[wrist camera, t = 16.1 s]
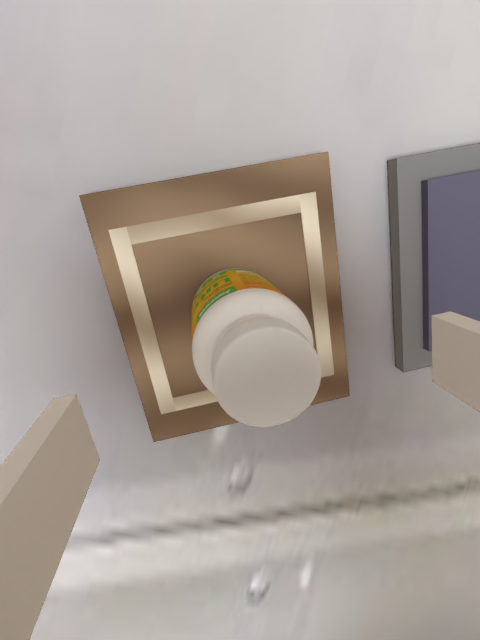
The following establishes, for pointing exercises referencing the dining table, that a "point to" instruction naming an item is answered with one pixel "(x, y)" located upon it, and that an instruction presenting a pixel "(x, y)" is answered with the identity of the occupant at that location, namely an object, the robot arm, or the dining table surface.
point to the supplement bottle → (253, 348)
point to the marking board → (209, 258)
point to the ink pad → (433, 245)
